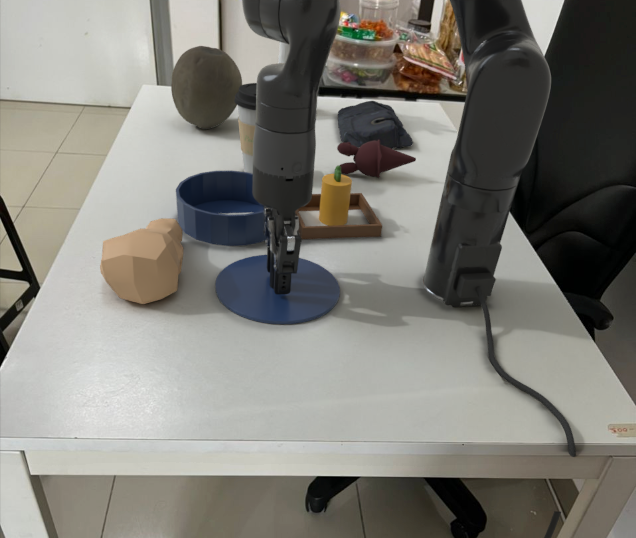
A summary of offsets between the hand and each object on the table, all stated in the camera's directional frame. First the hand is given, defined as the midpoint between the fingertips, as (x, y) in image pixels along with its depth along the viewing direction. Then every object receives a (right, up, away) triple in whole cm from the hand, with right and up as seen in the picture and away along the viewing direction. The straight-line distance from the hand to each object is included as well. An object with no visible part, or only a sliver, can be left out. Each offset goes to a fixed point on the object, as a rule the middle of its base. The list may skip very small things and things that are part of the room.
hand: (278, 281), depth 89 cm
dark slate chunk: (+18, +43, +54) cm, 71 cm away
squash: (-18, +1, +2) cm, 18 cm away
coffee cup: (-5, +25, +31) cm, 40 cm away
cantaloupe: (-18, +42, +48) cm, 66 cm away
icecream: (+16, +27, +35) cm, 47 cm away
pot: (-9, +12, +15) cm, 21 cm away
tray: (+8, +13, +18) cm, 24 cm away
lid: (0, -1, +1) cm, 1 cm away
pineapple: (+8, +14, +18) cm, 24 cm away
